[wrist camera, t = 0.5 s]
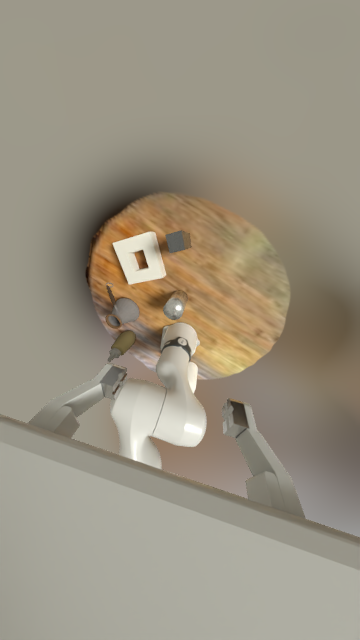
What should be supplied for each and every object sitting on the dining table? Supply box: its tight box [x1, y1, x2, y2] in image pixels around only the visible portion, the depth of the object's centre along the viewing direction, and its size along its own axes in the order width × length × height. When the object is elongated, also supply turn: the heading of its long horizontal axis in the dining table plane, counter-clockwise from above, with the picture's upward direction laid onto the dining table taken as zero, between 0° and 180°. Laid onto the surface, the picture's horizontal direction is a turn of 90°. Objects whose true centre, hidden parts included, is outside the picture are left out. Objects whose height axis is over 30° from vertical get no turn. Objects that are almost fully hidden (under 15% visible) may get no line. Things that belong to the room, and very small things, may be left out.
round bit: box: [163, 290, 188, 320], centre depth 49 cm, size 7×7×12 cm
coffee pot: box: [106, 283, 139, 329], centre depth 53 cm, size 21×12×15 cm, turn 166°
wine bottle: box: [188, 361, 198, 393], centre depth 62 cm, size 10×10×30 cm
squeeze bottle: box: [108, 331, 136, 362], centre depth 63 cm, size 8×8×18 cm
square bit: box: [166, 230, 192, 253], centre depth 38 cm, size 4×4×14 cm
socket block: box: [112, 232, 166, 284], centre depth 48 cm, size 14×14×4 cm
